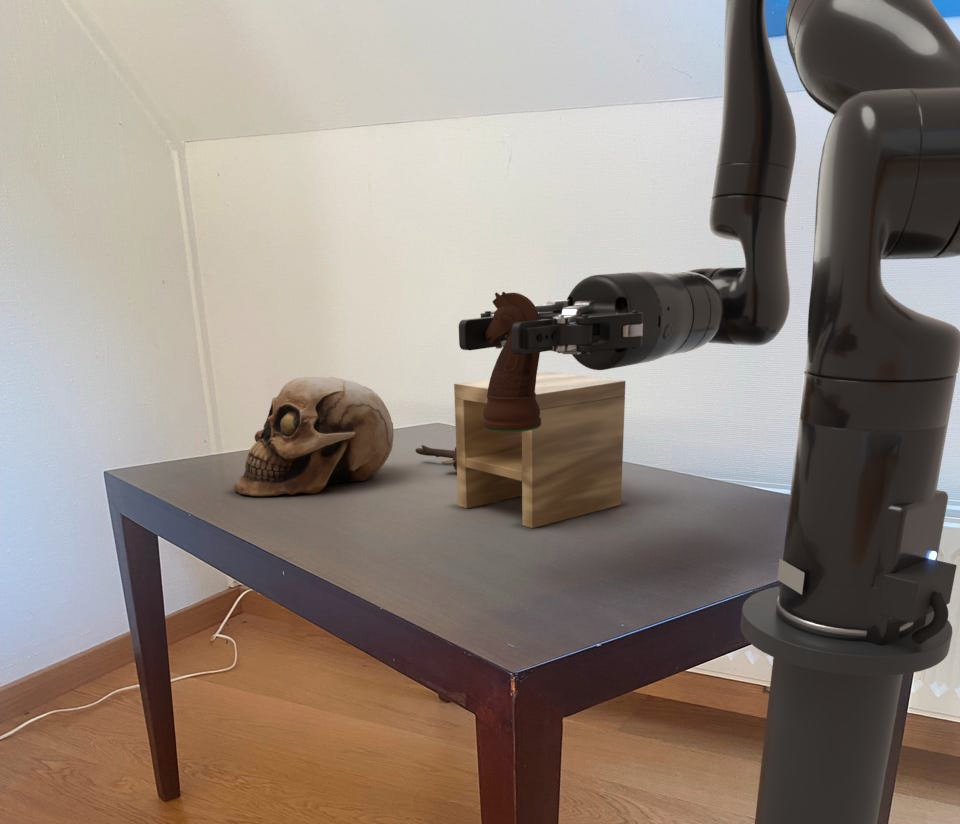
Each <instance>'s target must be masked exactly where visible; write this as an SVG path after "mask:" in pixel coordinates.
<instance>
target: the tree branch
mask: <svg viewBox="0 0 960 824" xmlns="http://www.w3.org/2000/svg"><path fill="white" fill-rule="evenodd" d="M415 453H416V454H418V455H421V456H429V457H435V458H447V459H448V460H443V461H440V464H444V465H453V468H454V470H455V471H456V472H457V454H456V446H455V447H454V449H453V450H452V449H451V450H450V449H443V448H442V449H441V448H433V447H432V448H431V447H428V446H426V445H423V444H422V445H421V447H417V448H415Z"/></svg>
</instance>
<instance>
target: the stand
mask: <svg viewBox="0 0 960 824" xmlns="http://www.w3.org/2000/svg"><path fill="white" fill-rule="evenodd" d="M489 382H490V378H487V379H478V380H471V381H465V382H459V383H458V382H457V383H454V384H453V391H454V392H453V393H454V421H455V422H454V423H455V425H454V426H455V447H456V454H457V471H456V478H457V479H456V481H457V482H456V483H457V505H458V507H460V508H463V509H471V508H475V507H478V506H484V505H487V504H492V503H495V502H496V503H497V502H500V501H505V500H509V499H513V498H517V497H521V502H522V503H521V505H522V506H521V507H522V508H521V509H522V512H521V513H522V515H521V516H522V520H521V521H522V524H521V525H522V526H524V527H527V528H530V529H534V528H539V527H543V526H546V525H550V524H553V523H554V524H555V523H557V522H562V521H565V520H568V519H572V518H576V517H579V516H583V515H588V514H591V513H595V512H598V511H603V510H606V509H609V508H614V507H617V506H621V505H622V485H623V484H622V483H623V461H624V460H623V458H624V432H625V410H626V409H625V406H626V380H621V379H612V378H603V377H595V376H594V377H593V376H588V375H580V374H579V375H578V374H570V373H561V372H555V371H554V372H552V371H539V372H538V371H537V375H536V385H535V393H536V396H535V399H536V401H537V404H538V406H539V409H540V416H539V417H540V418H541V425H540V427H539V428H537V429H534V430H529V431H521V432H495V431H488V430H486V429H484V426H483V420H484V415H483V412H484V408H485V406H486V403H487V393H488V387H489Z"/></svg>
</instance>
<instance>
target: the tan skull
mask: <svg viewBox="0 0 960 824" xmlns="http://www.w3.org/2000/svg"><path fill="white" fill-rule="evenodd" d="M254 441H255V443H254V444H253V445H252V446H251V447H250V449H249V451H248V453H247V457H246V458H245V465H244V469H245V470H244V472H243V475H240V477H239V478H238V479H237V481H236V482H235V484H234V488H233V491H235V492H237V493H238V494H241V495H244V496H251V497H275V496H276V497H277V496H280V495H285V494H286V495H290V496H292V495H297V494H300V493H301V494H302V493H303V494H318V493H320V492H321V491H323V490H324V489H325V488H326V486H327V485H332V484H333V485H334V484H337V483H343V482H344V483H345V482H346V483H349V482H363V481H366V480H368V479H370V478H371V477H372V476H373V475H374V474H376V473H377V472H379V471H380V470H381V469H382V468H383V467H384V466H385V464H386V461H388V458H389V456H390V455H391V452H392V451H393V446H394V423H393V420H392V417H391V413H390V411H389V410H388V407H387V405H386V404H385V403H384V401H383V399H382V398H381V397H380V396H379V394H378V393H376V392H375V391H374V390H373V389H372V388H369V387H367V386H365V385H362V384H360V383H357V382H356V381H352V380H349V379H344V378H338V377H330V376H329V377H324V376H303V377H302V376H301V377H296V378H293V379H291V380H289V381H288V382H287V383H285V384H284V385H283V386H282V388H281V390H280V391H279V393H278V395H277V396H276V397H272V399H271V404H270V408H269V411H268V414H267V418H266V420H265V422H264V424H263V429H260V430H258V431H257V432H256V433H255V435H254Z"/></svg>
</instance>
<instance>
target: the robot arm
mask: <svg viewBox="0 0 960 824" xmlns="http://www.w3.org/2000/svg"><path fill="white" fill-rule="evenodd" d="M766 22H767V20H766V0H725V15H724V39H723V76H722V77H723V78H722V79H723V81H722V83H723V86H722V108H721V109H722V110H721V123H720V135H719V143H718V151H717V158H716V162H715V163H716V164H715V169H714V177H713V183H712V189H711V190H712V191H711V200H710V204H709V212H708V228H709V231H710V232H711V234H712V235H713V236H715V237H716V238H719V239H721V240H725V241H728V242H733V243H737V244H739V245H740V247H741V249H742V252H743V257H744V258H743V259H744V267H742V266H741V267H722V266H721V267H720V266H719V267H716V266H715V267H714V266H713V267H701V268H693V269H688V270H685V271H673V272H672V271H671V272H657V271H646V270H645V271H631V272H618V273H617V272H616V273H604V274H603V273H602V274H594V275H591V276H590V275H589V276H588V277H584V278H583V279H582V280H581V281H579V282H578V283H577V284H575V286H574V287H573V289H572V290H571V291H570V293H569V294H568V297H567V298H566V299H557V300H554V299H553V300H548V301H547V302H546V303H545V304H534V305H535V307H536V309H537V312H538V315H539V318H540V320H532V321H524V322H516V323H514V324H513V326H512V351H513V353H514V354H521V355H525V354H531V353H538V352H540V353H544V352H553V353H557V354H562V355H571V356H572V357H573V358H574V359H575V360H576V361H577V362H578V364H580V365H582V366H583V367H585V368H587V369H590V370H594V371H606V370H611V369H617V368H622V367H628V366H633V365H639V364H645V363H650V362H652V361H656V360H659V359H661V358H664V357H667V356H673V355H679V354H684V353H688V352H692V351H695V350H698V349H699V348H702V347H703V346H705V345H706V344H718V345H719V344H720V345H735V346H750V347H751V346H752V347H757V346H764V345H766V344H769V343H770V342H771V341H773V340H774V339H775V338H776V337H777V336H778V335H779V334H780V332H781V330H782V329H783V328H784V326H785V324H786V321H787V319H788V317H789V312H790V307H791V288H790V287H791V286H790V277H789V268H788V255H787V253H788V252H787V236H786V215H787V209H788V202H789V197H790V191H791V186H792V179H793V173H794V169H795V168H794V167H795V162H796V161H795V160H796V151H797V132H796V131H797V129H796V123H795V119H794V114H793V110H792V106H791V104H790V101H789V97H788V95H787V93H786V90H785V87H784V84H783V82H782V79H781V77H780V73H779V71H778V68H777V65H776V62H775V58H774V55H773V52H772V47H771V43H770V40H769V37H768V35H769V34H768V29H767V23H766ZM785 38H786V44H787V47H788V51H789V55H790V57H791V60H792V64H793V65H794V68H795V71H796V73H797V76H798V79H799V81H800V83H801V85H802V87H803V89H804V90H805V92H806V94H807V95H808V97H810V98H811V99H812V101H814V103H816V104H817V106H819V107H820V108H821V109H823V110H824V111H825V112H827V113H829V114H830V115H832V119H831V121H830V124H829V125H828V128H827V132H826V135H825V138H824V142H823V146H822V148H821V149H822V150H821V156H820V161H819V162H820V163H819V167H818V176H817V187H816V199H815V201H816V202H815V217H814V218H815V219H814V222H815V223H814V239H813V255H812V271H811V273H812V274H811V282H810V283H811V284H810V294H809V303H808V315H807V333H806V334H807V338H806V353H805V362H804V370H805V371H804V372H803V377H802V378H803V379H802V387H801V394H800V395H801V396H800V404H799V414H798V420H797V421H798V422H797V431H796V438H795V447H794V448H795V449H794V457H793V467H792V476H791V485H790V486H791V487H790V494H789V501H788V503H789V504H788V509H787V511H788V512H787V520H786V530H785V537H784V546H783V557H782V558H779V561H778V570H777V581H779V586H780V593H779V596H778V598H777V606H776V612H777V615H778V616H779V617H780V618H781V619H782V620H783V621H784V622H786V623H787V624H789V625H791V626H793V627H795V628H797V629H799V630H802V631H805V632H808V633H811V634H815V635H819V636H823V637H828V638H834V639H841V640H853V641H865V642H869V643H873V644H876V645H885V644H887V643H889V642H891V641H893V640H895V639H897V638H899V637H901V636H903V635H905V634H907V633H909V632H910V631H912V630H914V629H916V628H918V627H920V626H922V625H923V624H925V623H926V618H927V615H928V614H929V613H931V612H933V611H934V618H933V620H932V621H931V622H930V623H929V624H928V625H927V626H925V627H923V628H921V629H920V630H918V631H916V632H915V633H914V634H912V639H913V640H914V641H915V642H916V643H918V644H922V643H923V642H924V641H926V640H928V639H929V638H931V637H933V636H935V635H936V634H938V633H939V632H940V631H941V630H942V629H943V628H944V627H945V625H946V623H947V620H948V619H949V609H948V605H949V604H950V603H951V597H952V592H953V586H954V583H955V582H954V581H955V576H956V573H957V567H958V565H957V564H955V563H954V564H953V563H950V562H945V561H941V560H938V557H939V556H938V555H939V552H940V551H939V550H940V545H941V541H942V540H941V539H942V535H943V530H944V529H943V528H944V524H945V518H946V512H947V508H948V507H947V506H948V502H949V494H948V493H947V492H946V491H944V490H940V489H938V484H939V478H940V472H941V466H942V460H943V456H944V455H943V454H944V451H945V450H944V449H945V444H946V443H945V442H946V437H947V432H948V425H949V421H950V415H951V409H952V403H953V399H954V398H953V397H954V393H955V386H956V381H957V374H958V373H959V369H960V368H959V366H960V330H959V328H957V327H956V326H955V325H953V324H951V323H948V322H946V321H943V320H940V319H937V318H934V317H932V316H929V315H925V314H923V313H920V312H917V311H915V310H913V309H911V308H910V307H908V306H906V305H904V304H903V303H901V302H899V301H898V300H897V299H895V297H893V295H891V294H890V293H889V292H888V291H887V289H886V288H885V286H884V284H883V279H882V261H891V260H892V261H893V260H894V261H895V260H896V261H898V260H928V259H938V260H939V259H948V258H949V259H950V258H955V257H959V256H960V40H959V38H958V37H957V36H956V35H955V33H954V31H953V30H952V29H951V27H950V26H949V24H948V23H947V22H946V19H944V18H943V16H942V15H941V13H940V12H939V11H938V8H937V7H936V6H935V5H934V3H933V1H932V0H789V2H788V5H787V9H786V14H785ZM495 311H496V310H494V311H491V310H485V311H484V312H482V313H480V317H477V318H468V319H462V320H460V321H459V323H458V345H459V348H460V349H461V350H462V351H477V350H483V349H489V348H490V349H491V348H495V350H497V349H498V350H500V349H502V348H503V346H504V344H505V343H506V341H507V339H508V336H509V334H508V335H506V336H504V337H502V338H501V339H500V340H499V341H498V342H497V343H496V344H495V345H491V344H490V343H489V342H488V340H487V339H486V335H485V332H486V331H487V329H488V327H489V325H490V324H491V322H492V320H493V317H494V312H495ZM948 621H949V620H948Z"/></svg>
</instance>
